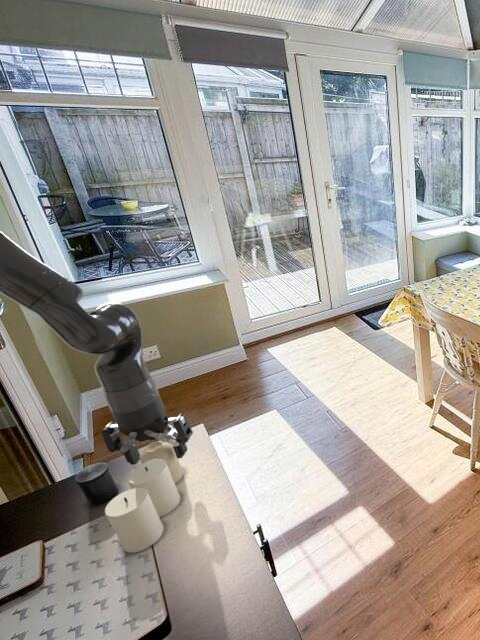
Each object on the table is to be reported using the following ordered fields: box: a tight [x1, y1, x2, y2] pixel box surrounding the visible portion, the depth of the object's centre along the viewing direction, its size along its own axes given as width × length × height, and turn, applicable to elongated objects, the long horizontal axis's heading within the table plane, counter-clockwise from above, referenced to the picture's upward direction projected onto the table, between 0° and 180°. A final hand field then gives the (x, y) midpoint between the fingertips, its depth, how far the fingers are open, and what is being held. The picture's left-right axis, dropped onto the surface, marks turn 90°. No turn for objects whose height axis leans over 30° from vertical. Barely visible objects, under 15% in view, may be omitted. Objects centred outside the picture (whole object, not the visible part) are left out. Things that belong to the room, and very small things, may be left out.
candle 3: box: [104, 488, 165, 554], centre depth 77 cm, size 6×6×11 cm
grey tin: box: [74, 462, 119, 506], centre depth 86 cm, size 5×5×7 cm
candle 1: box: [139, 440, 184, 485], centre depth 90 cm, size 6×6×10 cm
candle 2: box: [127, 459, 181, 518], centre depth 84 cm, size 6×6×11 cm
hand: (159, 458), depth 89 cm, fingers open, 8 cm apart
